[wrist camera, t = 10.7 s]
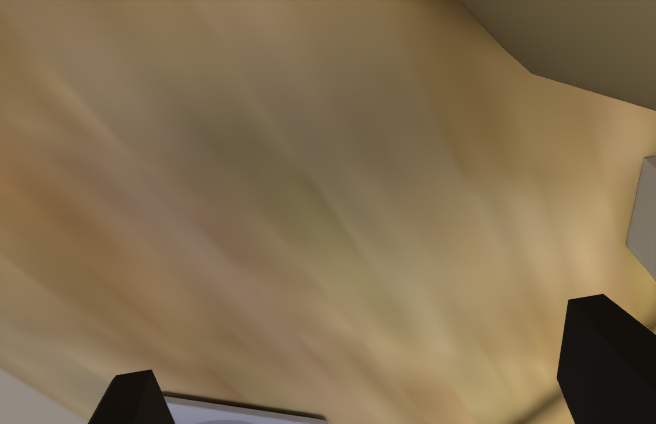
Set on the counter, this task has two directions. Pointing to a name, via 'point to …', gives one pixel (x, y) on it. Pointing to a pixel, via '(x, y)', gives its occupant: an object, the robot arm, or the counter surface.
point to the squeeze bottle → (580, 42)
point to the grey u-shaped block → (645, 218)
